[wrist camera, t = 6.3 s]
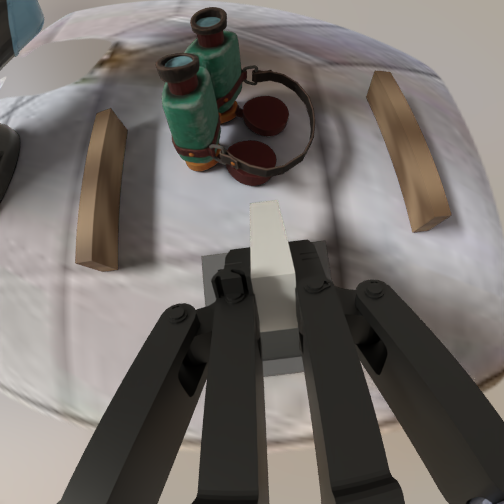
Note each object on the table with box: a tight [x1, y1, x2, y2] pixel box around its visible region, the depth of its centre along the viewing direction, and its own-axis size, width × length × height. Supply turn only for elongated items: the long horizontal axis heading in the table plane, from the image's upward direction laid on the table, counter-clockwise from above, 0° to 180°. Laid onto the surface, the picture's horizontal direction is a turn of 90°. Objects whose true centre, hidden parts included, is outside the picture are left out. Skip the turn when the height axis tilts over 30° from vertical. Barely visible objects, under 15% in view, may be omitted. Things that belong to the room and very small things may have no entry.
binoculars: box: [156, 7, 315, 186], centre depth 16 cm, size 9×11×10 cm
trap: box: [201, 241, 332, 377], centre depth 18 cm, size 8×8×1 cm
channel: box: [75, 71, 451, 272], centre depth 19 cm, size 13×25×4 cm, turn 96°
